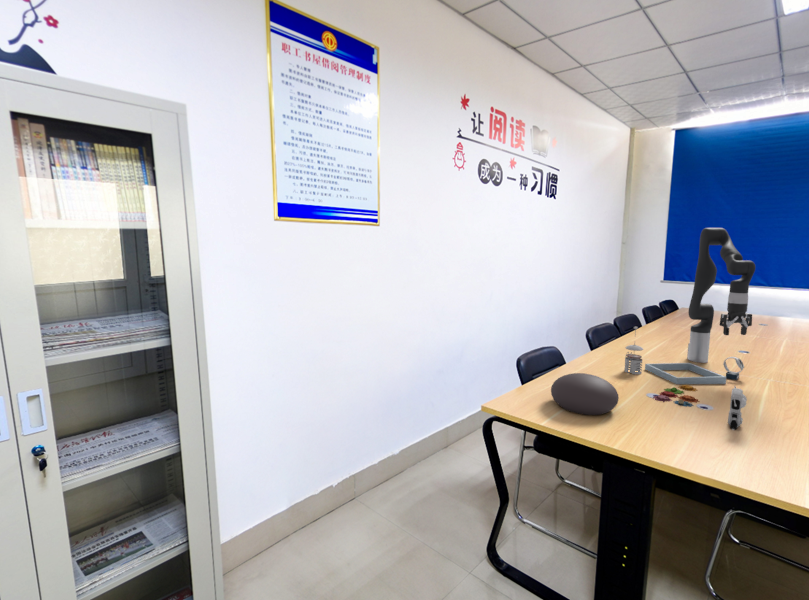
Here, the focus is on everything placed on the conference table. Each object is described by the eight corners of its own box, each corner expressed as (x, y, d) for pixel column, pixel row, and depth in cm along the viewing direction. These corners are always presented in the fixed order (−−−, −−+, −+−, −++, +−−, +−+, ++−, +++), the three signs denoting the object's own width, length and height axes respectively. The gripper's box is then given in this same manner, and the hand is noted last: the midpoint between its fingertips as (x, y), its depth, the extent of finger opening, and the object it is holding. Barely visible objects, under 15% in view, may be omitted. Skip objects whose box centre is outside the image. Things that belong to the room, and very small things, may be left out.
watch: (741, 382, 200) (743, 360, 199) (721, 378, 206) (723, 356, 205) (743, 379, 204) (746, 357, 203) (723, 376, 210) (725, 354, 209)
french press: (647, 374, 213) (650, 326, 210) (635, 379, 206) (638, 329, 203) (628, 370, 221) (631, 323, 218) (616, 374, 214) (619, 326, 211)
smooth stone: (591, 398, 181) (593, 364, 179) (632, 421, 156) (634, 383, 155) (539, 402, 177) (540, 368, 175) (572, 427, 152) (574, 387, 150)
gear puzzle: (671, 386, 197) (672, 378, 196) (713, 395, 185) (714, 386, 184) (649, 403, 176) (649, 394, 175) (694, 414, 164) (695, 404, 164)
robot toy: (742, 437, 143) (747, 395, 141) (726, 433, 146) (730, 392, 144) (744, 425, 152) (748, 386, 150) (728, 422, 155) (732, 383, 153)
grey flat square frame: (644, 371, 219) (645, 363, 219) (688, 370, 220) (689, 362, 220) (676, 386, 195) (676, 378, 195) (725, 385, 196) (726, 376, 196)
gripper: (745, 300, 205) (742, 333, 207) (717, 301, 204) (714, 333, 206) (758, 302, 197) (755, 336, 199) (729, 303, 197) (726, 336, 199)
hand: (734, 334), depth 203 cm, fingers open, 8 cm apart
